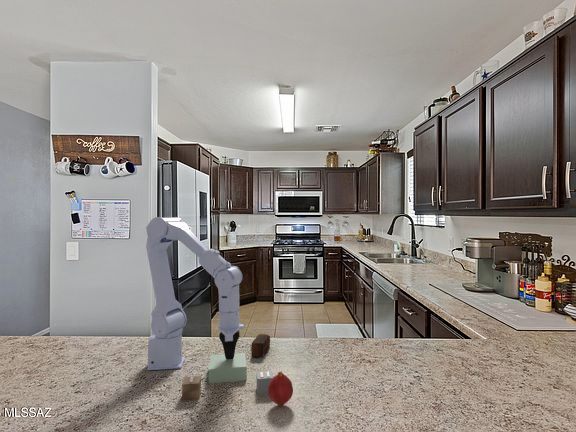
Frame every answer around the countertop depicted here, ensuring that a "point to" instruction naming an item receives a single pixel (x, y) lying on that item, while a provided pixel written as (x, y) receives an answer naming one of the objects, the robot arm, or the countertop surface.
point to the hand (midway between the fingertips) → (229, 358)
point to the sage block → (227, 368)
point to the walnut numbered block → (191, 388)
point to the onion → (280, 389)
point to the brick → (260, 345)
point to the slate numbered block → (263, 382)
